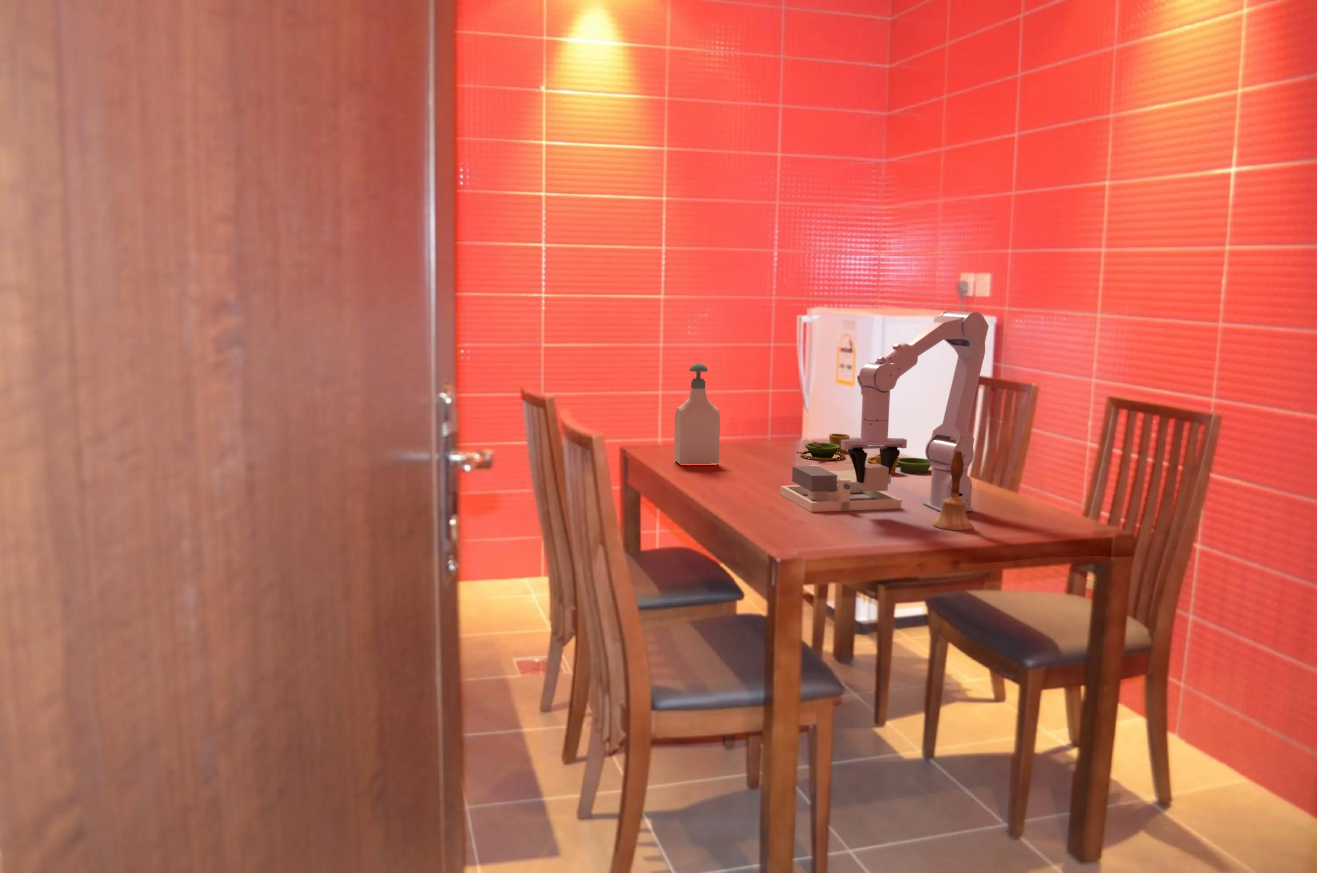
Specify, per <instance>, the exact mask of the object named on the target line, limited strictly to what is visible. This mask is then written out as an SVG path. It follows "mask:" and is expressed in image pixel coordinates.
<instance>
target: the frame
mask: <svg viewBox="0 0 1317 873" xmlns="http://www.w3.org/2000/svg"><path fill="white" fill-rule="evenodd" d="M808 466H818V467H821V466H820V465H819V464H810V465H808ZM850 484H851V480H849V479H839V480H838V484H837V491H822V492H811V491H809V490H807V489H805V488H803V487H801V486H800V485H798V484H795V485H794V484H793V485H780V486H779V495H781V496H782V497H784V498H786V499H788V500H789V501H791V502H792V503H794V504H796V505H798V506H800V507H802V508H803V509H805V510H807V511H809V513H810V512H811V513H813V512H815V513H816V512H817V513H818V512H842V511H845V512H846V511H866V510H867V511H868V510H869V511H871V510H874V511H875V510H894V509H895V510H896V509H902V499H901V498H898V497H897V496H895V495H892V494H890V493H887V492H886V491H864V490H862V489H860V488H858V487H856V485H850ZM857 493H858V494H859V493H862V494H863V495H866V496H868V497H870V498H872V499H856V500H855V499H853V500H852V499H850V498H851V494H857ZM804 495H807V497H808V498H807V497H805V496H804ZM809 498H810V499H809ZM812 500H814V501H812Z"/></svg>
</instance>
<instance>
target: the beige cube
mask: <svg viewBox="0 0 1317 873" xmlns="http://www.w3.org/2000/svg"><path fill="white" fill-rule="evenodd" d="M888 475H889V468H888V467H886V466H883V465H881V464H871V463H865V470H864V482H863V483H859V482H857V481H856V487H858V488H860V489H862V490H864V491H883V492H888V488H889V484H888Z"/></svg>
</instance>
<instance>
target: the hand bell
mask: <svg viewBox="0 0 1317 873" xmlns="http://www.w3.org/2000/svg"><path fill="white" fill-rule="evenodd" d="M963 468H964V461H963V457H962V451H955V454H954V456H953V459H952V461H951V476H952V487H951V494H950V497H949V498H947V499H945V500H944V501H943V505H942V509H941V511H939V514H938V516H937V517H936V518H935V519H933V521H932V523H931V525H932V526H934V527H935V528H937V529H938V528H939V529H942V530H949V531H970V530H973V529H974V527H973V524H972V523H971V522H970V520H969V519H968V516H967V511H966V509H965V502H964V501H963V500H961V499H960V498H959V486H960V479H961V476H962V473H963Z"/></svg>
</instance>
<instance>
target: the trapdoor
mask: <svg viewBox="0 0 1317 873" xmlns="http://www.w3.org/2000/svg"><path fill="white" fill-rule="evenodd" d="M818 466H819V465H818ZM818 466H809V465H796V466H795V465H794V466H792V474H791V481H792V482H791V483H793V484H795V485H800V486H801V487H803V488H805V489H807V490H809V491H811V492H822V491H837V484H838V480H839V479H849V480H851V484H850V485H856V481H857V479H856V473H855V470H846V469H844V470H843V471H835V470H826V469H825V468H822V467H821V466H820V467H818ZM891 481H892V474H890V475H889V478H888V485H890V484H891V483H892V482H891Z"/></svg>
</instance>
